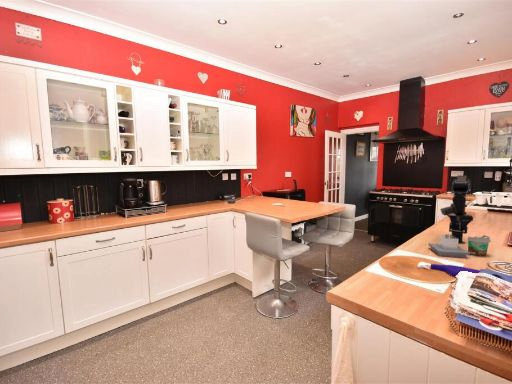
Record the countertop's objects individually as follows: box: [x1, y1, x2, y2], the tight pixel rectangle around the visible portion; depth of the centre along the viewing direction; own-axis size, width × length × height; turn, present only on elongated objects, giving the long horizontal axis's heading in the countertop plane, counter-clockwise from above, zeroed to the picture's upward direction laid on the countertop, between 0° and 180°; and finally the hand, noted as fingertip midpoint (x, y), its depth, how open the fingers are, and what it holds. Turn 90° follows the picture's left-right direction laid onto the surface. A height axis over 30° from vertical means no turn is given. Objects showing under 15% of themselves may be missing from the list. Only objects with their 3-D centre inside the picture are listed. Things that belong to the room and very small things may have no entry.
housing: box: [438, 234, 459, 250], centre depth 141 cm, size 5×7×7 cm
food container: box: [467, 234, 492, 257], centre depth 138 cm, size 12×6×10 cm, turn 105°
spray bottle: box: [417, 261, 481, 278], centre depth 116 cm, size 3×11×24 cm
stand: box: [428, 242, 471, 259], centre depth 141 cm, size 14×14×3 cm
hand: (456, 229), depth 148 cm, fingers open, 9 cm apart
